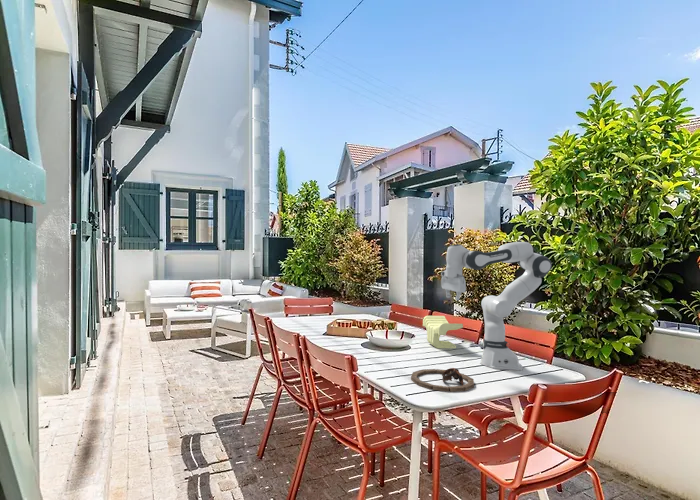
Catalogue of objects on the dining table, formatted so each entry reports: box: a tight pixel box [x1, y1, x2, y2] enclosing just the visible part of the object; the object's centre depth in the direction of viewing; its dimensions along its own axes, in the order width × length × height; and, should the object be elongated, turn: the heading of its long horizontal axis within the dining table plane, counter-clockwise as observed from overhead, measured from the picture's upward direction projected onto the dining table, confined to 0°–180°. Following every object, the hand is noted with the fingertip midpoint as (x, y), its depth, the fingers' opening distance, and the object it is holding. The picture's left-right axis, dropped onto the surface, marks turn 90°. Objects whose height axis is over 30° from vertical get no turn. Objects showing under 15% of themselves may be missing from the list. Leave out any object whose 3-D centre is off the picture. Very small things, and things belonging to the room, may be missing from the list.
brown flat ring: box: [410, 368, 475, 393], centre depth 203 cm, size 30×30×2 cm
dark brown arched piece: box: [441, 367, 465, 386], centre depth 202 cm, size 12×10×8 cm
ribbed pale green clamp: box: [422, 315, 464, 349], centre depth 280 cm, size 30×16×18 cm, turn 10°
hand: (452, 299), depth 228 cm, fingers open, 8 cm apart
